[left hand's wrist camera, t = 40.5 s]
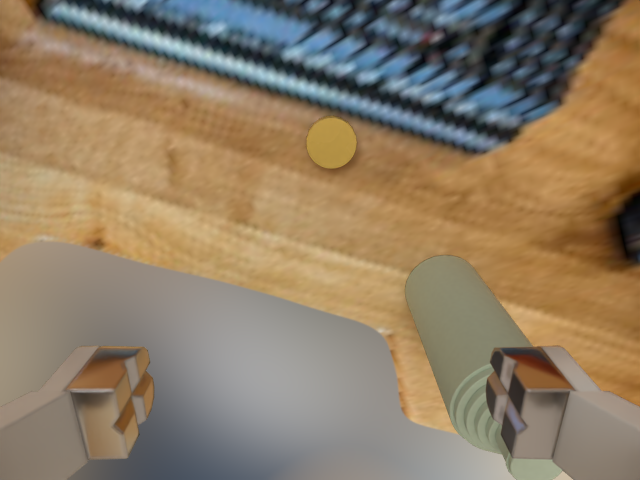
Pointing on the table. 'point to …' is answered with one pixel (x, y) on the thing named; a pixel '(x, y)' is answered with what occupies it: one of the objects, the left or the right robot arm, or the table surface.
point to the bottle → (467, 351)
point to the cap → (331, 142)
